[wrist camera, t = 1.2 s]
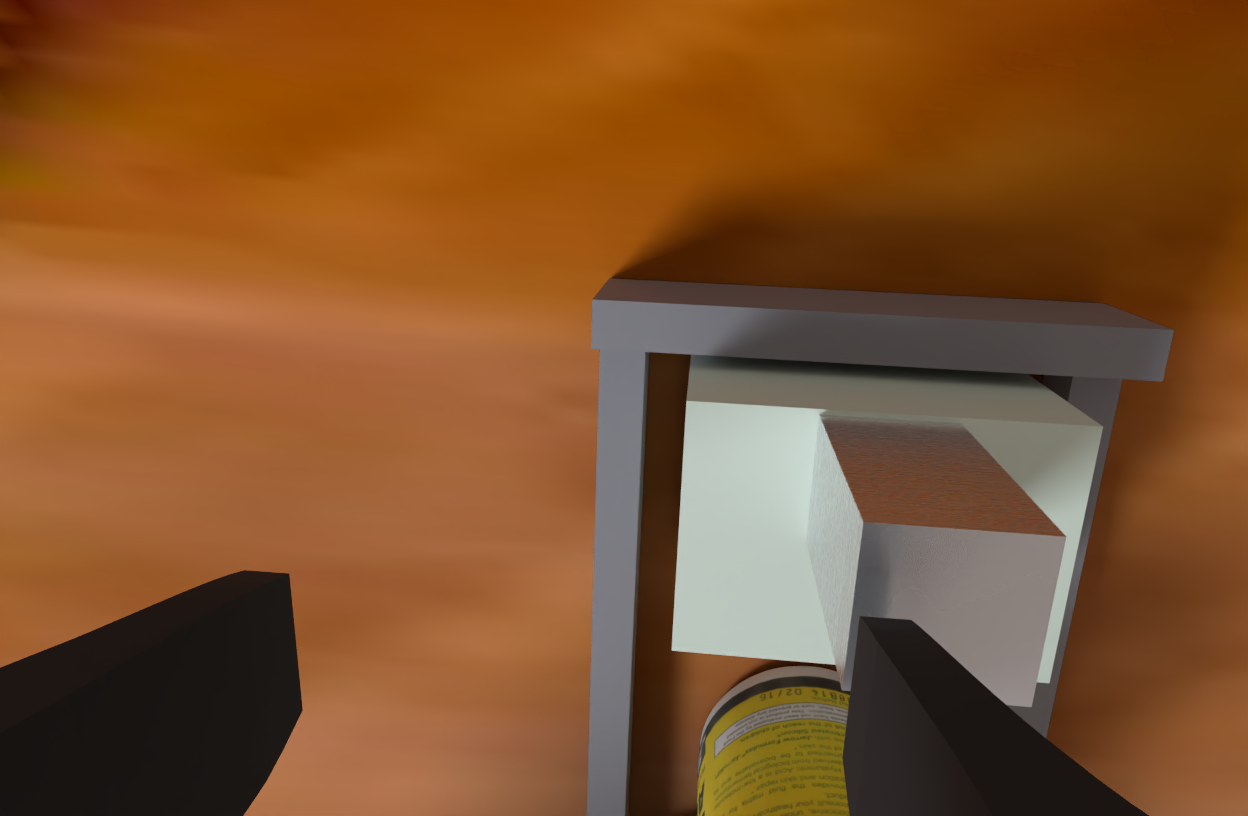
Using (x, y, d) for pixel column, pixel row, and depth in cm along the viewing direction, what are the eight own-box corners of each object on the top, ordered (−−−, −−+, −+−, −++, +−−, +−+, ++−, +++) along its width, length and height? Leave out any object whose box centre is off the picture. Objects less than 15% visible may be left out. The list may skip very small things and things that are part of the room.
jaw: (680, 538, 21) (657, 827, 12) (692, 340, 20) (676, 500, 11) (970, 560, 21) (1175, 881, 11) (1005, 358, 19) (1270, 543, 10)
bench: (590, 873, 25) (555, 1090, 19) (609, 278, 20) (568, 329, 14) (980, 916, 24) (1065, 1157, 18) (1103, 303, 19) (1275, 369, 13)
